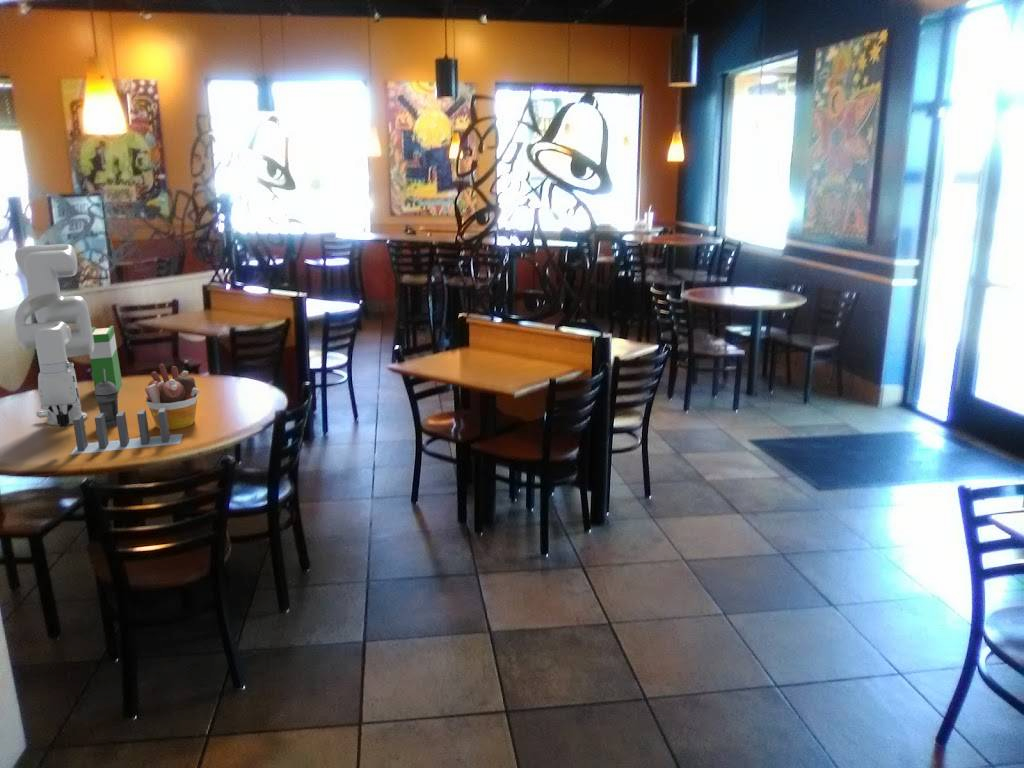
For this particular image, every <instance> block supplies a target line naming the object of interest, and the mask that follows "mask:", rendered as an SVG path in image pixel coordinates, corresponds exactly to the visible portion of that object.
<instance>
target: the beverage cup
mask: <svg viewBox="0 0 1024 768" xmlns="http://www.w3.org/2000/svg"><path fill="white" fill-rule="evenodd" d="M103 370H104V380H105V381H102V382H100V383H99V384H98V385H97V386H96V388H95V387H94V397H95V400H96V402H97V403H96V404H97V407H98V409H99V413H104V416H105V422H106V429H110V428H111V429H112V428H116V427H117V420H116V415H117V414H118V412H119V405H118V404H119V403H118V399H119V398H118V397H119V393H118V390H117V387H116V386H115V385H114V384H113V383H112V382H110V381H106V374H105V369H103ZM117 428H118V427H117Z"/></svg>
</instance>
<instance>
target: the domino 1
mask: <svg viewBox="0 0 1024 768" xmlns="http://www.w3.org/2000/svg"><path fill="white" fill-rule="evenodd" d="M73 430H74V436H75V442H76V446H77V449H78V451H84V450H85V449H86V447H87V446H88V443H89V442H88V437H87V433H86V425H85V420H84V419H83V415H76V417H75V418H74V419H73Z"/></svg>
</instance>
